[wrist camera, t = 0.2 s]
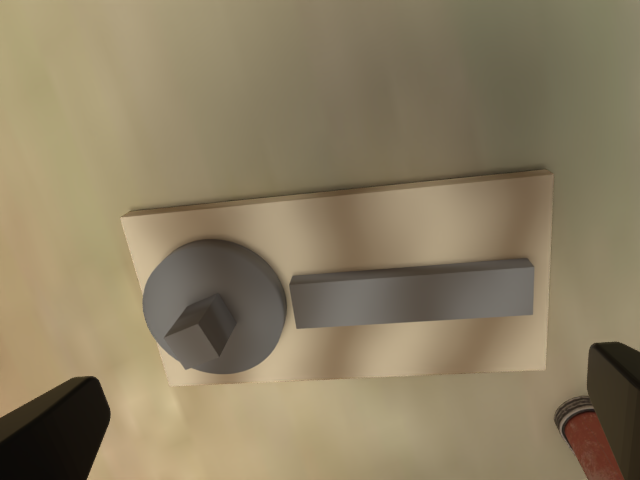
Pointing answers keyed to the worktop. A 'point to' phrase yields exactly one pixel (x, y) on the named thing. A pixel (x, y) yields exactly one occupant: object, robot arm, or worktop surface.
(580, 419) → the lighter
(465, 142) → the worktop surface
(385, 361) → the board
